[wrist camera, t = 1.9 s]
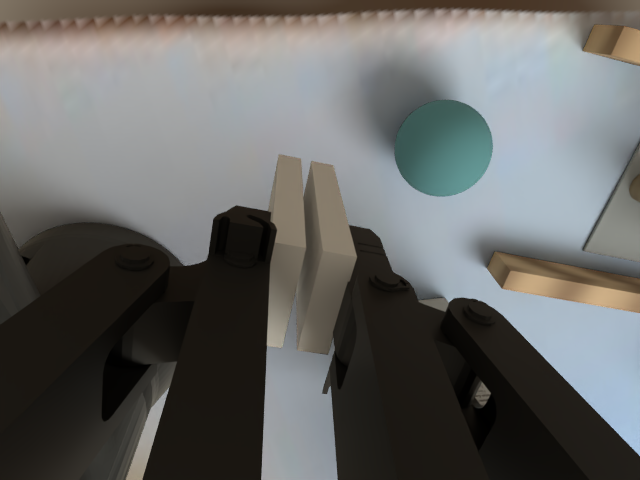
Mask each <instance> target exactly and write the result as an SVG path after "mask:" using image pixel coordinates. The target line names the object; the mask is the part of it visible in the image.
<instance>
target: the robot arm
mask: <svg viewBox="0 0 640 480" xmlns="http://www.w3.org/2000/svg"><path fill="white" fill-rule="evenodd" d="M295 292H296V306H297V350H299V351H306V352H313V353H320V354H326V355H328V353H329V350H330V346H331V343H332V339H333V338H334V346H335V351H334V354H333V358H332V361H331V364H330V368H329V371H328V374H327V377H326V381H325V384H324V388H323V392H322V393H323V394H327V392H328V389H329V387H330V386H331V393H332V407H333V420H334V434H335V447H336V461H337V475H338V480H640V456H639V455H638V454H637V453H636V452H635V451H634V450H633V449H632V448H631V447H630V446H629V445H628V444H627V443H626V442H625V441H624V440H623V439H622V438H621V436H620V435H619V434H618V433H617V432H616V431H615V430H614V429H613V428H612V427H611V426H610V425H609V424H608V423H607V422H606V421H605V420H604V419H603V418H602V417H601V416H600V415H599V414H598V413H597V412H596V411H595V410H594V409H593V408H592V407H591V406H590V405H589V404H588V403H587V402H586V401H585V400H584V399H583V397H582V396H581V395H580V394H579V393H578V392H577V391H576V390H575V389H574V388H573V387H572V386H571V385H570V384H569V383H568V382H567V381H566V380H565V379H564V378H563V377H562V376H561V375H560V374H559V373H558V372H557V371H556V370H555V369H554V368H553V367H552V366H551V365H550V364H549V363H548V362H547V361H546V360H545V358H544V357H543V356H542V355H541V354H540V353H539V352H538V351H537V350H536V349H535V348H534V347H533V346H532V345H531V344H530V343H529V342H528V341H527V340H526V339H525V338H524V337H523V336H522V335H521V334H520V333H519V332H518V331H517V330H516V329H515V328H514V327H513V326H512V325H511V324H510V323H509V322H508V321H507V319H506V318H505V317H504V316H503V315H501V314H500V313H499V312H498V311H496V310H495V309H494V308H492V307H490V306H488V305H487V304H486V303H484V302H482V301H478V300H476V299H468V298H455V299H453V300H452V301H450V302H449V304H448V307H447V309H446V312H445V311H442V310H439V309H436V308H433V307H430V306H428V305H425V304H423V303H420V302H419V301H418V299H417V296H416V294H415V291H414V289H413V287H412V286H411V284H410V283H409V282H408V281H407V280H405V279H404V278H403V277H401V276H399V275H397V274H395V273H393V271H392V269H391V266H390V264H389V261H388V258H387V256H386V253H385V250H384V249H383V245H382V243H381V240H380V238H379V237H378V236H377V235H376V234H375V233H374V232H373V231H371V230H370V229H366V228H361V227H356V226H350V225H349V224H348V220H347V217H346V213H345V209H344V205H343V201H342V197H341V194H340V190H339V186H338V182H337V178H336V174H335V171H334V167H333V165H329V164H324V163H319V162H314V161H311V166H310V170H309V174H308V179H307V183H306V188H305V192H304V197H303V184H302V167H301V159H300V158H295V157H290V156H285V155H280V154H279V157H278V162H277V167H276V172H275V177H274V182H273V188H272V193H271V198H270V203H269V208H268V211H263V210H258V209H252V208H247V207H242V206H235V207H233V208H231V209H230V210H228V211H227V212H223V213H221V214H218V215H217V216H216V217H215V218H214V219H213V226H212V233H211V240H210V247H209V254H208V258H207V260H206V261H204V262H202V263H199V264H195V265H190V266H183V265H182V264H181V263H180V262H179V261H178V260H177V259H176V258H175V257H174V256H173V255H172V254H171V253H170V252H169V251H167V250H166V249H165V248H163V247H162V246H161V245H159V244H157V243H156V242H154V241H153V240H151V239H149V238H147V237H145V236H143V235H141V234H139V233H136V232H134V231H131V230H128V229H125V228H121V227H118V226H113V225H108V224H100V223H75V224H67V225H62V226H58V227H55V228H52V229H49V230H47V231H44V232H42V233H40V234H38V235H37V236H35V237H33V238H32V239H30V240H29V241H28V242H27V243H25V244H24V245H23V246H22V247H21V248H20V249H18V248H17V246H16V244H15V241H14V239H13V237H12V235H11V233H10V231H9V229H8V227H7V225H6V223H5V221H4V219H3V217H2V214H1V212H0V480H126V477H127V475H128V472H129V469H130V466H131V463H132V460H133V457H134V454H135V452H136V449H137V446H138V443H139V440H140V437H141V434H142V431H143V429H144V426H145V422H146V420H147V417H148V414H149V411H150V409H151V407H152V406H153V405H154V404H155V403H156V402H157V401H158V399H159V398H160V397H161V396H162V395H163V394H164V393H165V391H166V390H167V389H168V388H169V391H168V394H167V398H166V401H165V405H164V408H163V411H162V415H161V418H160V422H159V425H158V428H157V432H156V435H155V439H154V442H153V445H152V449H151V452H150V456H149V459H148V463H147V466H146V469H145V473H144V476H143V480H261V470H262V446H263V423H264V399H265V376H266V352H267V346H271V347H278V348H282V346H283V342H284V338H285V334H286V330H287V325H288V321H289V317H290V313H291V309H292V305H293V300H294V296H295ZM482 383H483V384H484V385H485V386H486V388H487V389H488V390H489V392H490V393H491V394H490V396H489V398H488V400H487V402H486V404H485V405H484V407H483V406H482V405H481V404H480V403H479V402H478V401H477V399H476V398H475V396H476V394H477V392H478V390H479V388H480V386H481V384H482Z"/></svg>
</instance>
